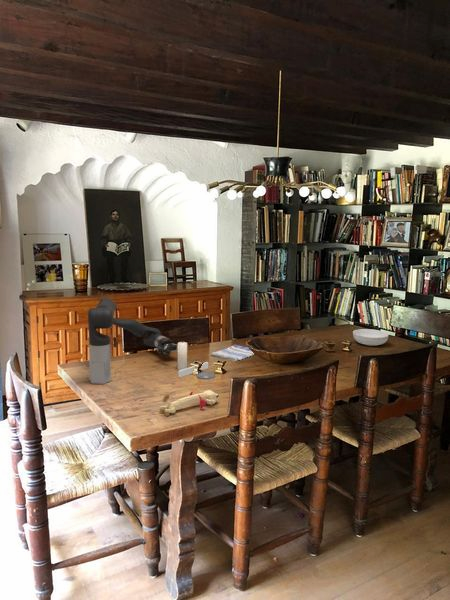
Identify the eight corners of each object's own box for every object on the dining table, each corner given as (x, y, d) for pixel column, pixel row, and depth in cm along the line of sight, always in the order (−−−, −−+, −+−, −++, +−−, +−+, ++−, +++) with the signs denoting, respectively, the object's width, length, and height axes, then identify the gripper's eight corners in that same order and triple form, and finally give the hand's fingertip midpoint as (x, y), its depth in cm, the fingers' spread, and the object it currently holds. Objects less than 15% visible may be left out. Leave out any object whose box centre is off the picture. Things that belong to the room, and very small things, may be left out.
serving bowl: (347, 339, 306) (347, 328, 305) (379, 339, 308) (380, 328, 307) (359, 348, 286) (360, 337, 284) (393, 348, 288) (394, 337, 287)
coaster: (215, 379, 225) (215, 378, 225) (195, 379, 225) (195, 377, 225) (215, 373, 234) (215, 372, 234) (196, 372, 234) (196, 371, 234)
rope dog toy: (170, 422, 181) (224, 403, 196) (168, 400, 180) (224, 383, 194) (157, 413, 189) (211, 395, 203) (156, 392, 187) (210, 376, 202)
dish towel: (210, 356, 263) (210, 351, 263) (236, 348, 282) (236, 343, 281) (235, 363, 253) (236, 358, 252) (261, 353, 271) (261, 348, 271)
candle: (186, 370, 237) (186, 342, 235) (177, 370, 237) (177, 342, 235) (187, 367, 242) (187, 340, 240) (177, 367, 242) (178, 340, 240)
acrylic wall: (208, 367, 242) (208, 362, 242) (179, 377, 227) (179, 371, 226) (207, 367, 243) (207, 361, 242) (178, 377, 227) (178, 370, 227)
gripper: (176, 349, 262) (189, 357, 248) (151, 352, 255) (163, 361, 241) (176, 336, 261) (190, 343, 247) (151, 338, 254) (164, 346, 240)
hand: (177, 352), depth 244 cm, fingers open, 8 cm apart
